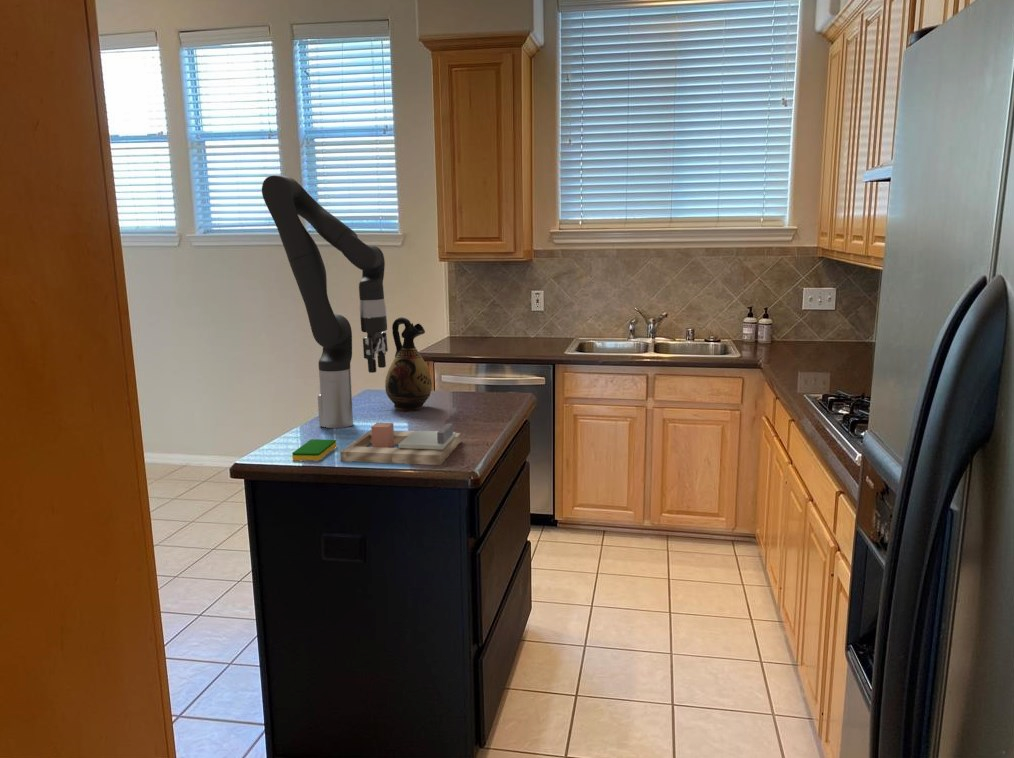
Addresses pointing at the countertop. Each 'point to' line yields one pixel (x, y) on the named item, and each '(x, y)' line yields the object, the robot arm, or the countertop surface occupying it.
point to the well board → (396, 451)
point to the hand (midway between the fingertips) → (377, 369)
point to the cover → (429, 439)
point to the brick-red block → (383, 435)
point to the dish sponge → (314, 449)
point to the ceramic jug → (408, 370)
